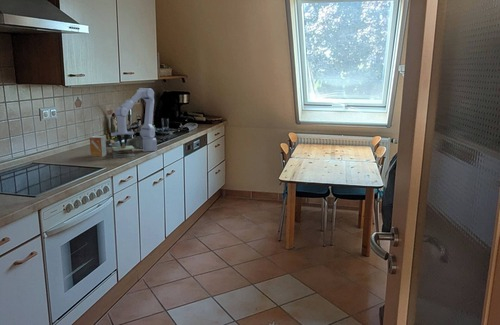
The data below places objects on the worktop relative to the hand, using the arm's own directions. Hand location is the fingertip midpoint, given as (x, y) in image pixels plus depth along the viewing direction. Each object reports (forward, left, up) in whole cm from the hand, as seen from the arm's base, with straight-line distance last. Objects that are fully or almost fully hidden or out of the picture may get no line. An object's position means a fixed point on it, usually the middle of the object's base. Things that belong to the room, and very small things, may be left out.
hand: (123, 146), depth 274 cm
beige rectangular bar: (+4, -23, -2) cm, 24 cm away
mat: (0, 0, -7) cm, 7 cm away
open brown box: (0, -10, -7) cm, 12 cm away
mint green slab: (0, 0, -2) cm, 2 cm away
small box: (+15, -7, -7) cm, 18 cm away
